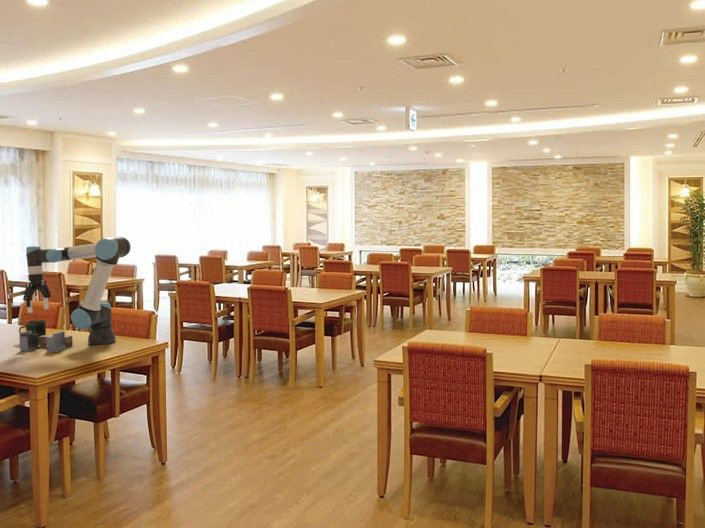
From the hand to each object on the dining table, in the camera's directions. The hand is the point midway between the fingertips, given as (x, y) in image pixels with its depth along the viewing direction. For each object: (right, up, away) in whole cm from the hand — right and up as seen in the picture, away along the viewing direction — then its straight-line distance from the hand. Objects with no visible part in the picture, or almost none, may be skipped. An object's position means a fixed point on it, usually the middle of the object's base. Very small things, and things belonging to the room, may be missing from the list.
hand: (38, 310), depth 392 cm
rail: (+10, -20, -1) cm, 23 cm away
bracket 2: (+16, -21, -14) cm, 29 cm away
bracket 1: (0, -21, -10) cm, 23 cm away
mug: (-9, -19, +13) cm, 25 cm away
